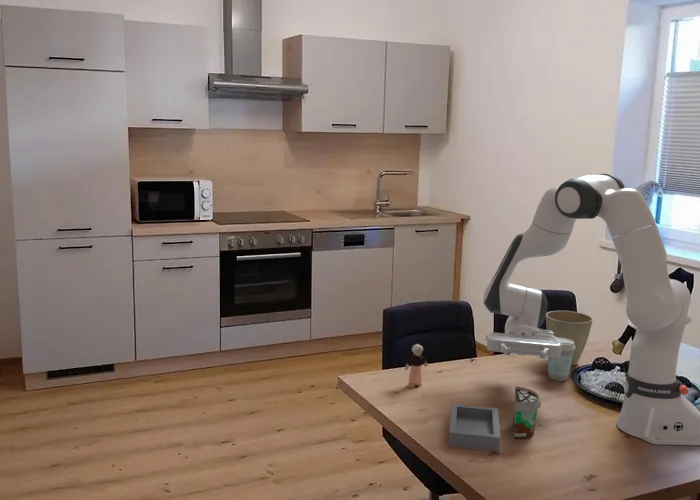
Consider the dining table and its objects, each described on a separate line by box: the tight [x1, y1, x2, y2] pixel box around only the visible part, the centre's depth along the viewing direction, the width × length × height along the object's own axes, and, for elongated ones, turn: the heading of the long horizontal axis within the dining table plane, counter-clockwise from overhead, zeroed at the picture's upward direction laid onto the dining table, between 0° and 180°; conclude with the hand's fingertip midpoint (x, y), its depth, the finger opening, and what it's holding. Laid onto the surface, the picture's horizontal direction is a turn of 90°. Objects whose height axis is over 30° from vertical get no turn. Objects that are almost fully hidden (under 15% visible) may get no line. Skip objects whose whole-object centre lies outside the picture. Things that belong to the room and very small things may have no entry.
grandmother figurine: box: [404, 343, 428, 388], centre depth 202 cm, size 8×4×13 cm, turn 129°
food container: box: [512, 385, 542, 440], centre depth 172 cm, size 12×6×10 cm, turn 168°
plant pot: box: [545, 310, 594, 367], centre depth 227 cm, size 15×15×16 cm
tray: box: [448, 403, 501, 452], centre depth 171 cm, size 12×18×4 cm, turn 170°
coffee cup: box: [547, 337, 575, 382], centre depth 212 cm, size 8×8×12 cm
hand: (525, 354), depth 184 cm, fingers open, 8 cm apart
